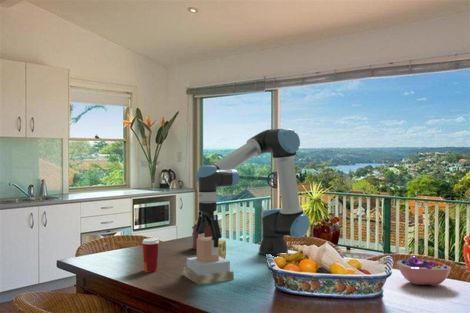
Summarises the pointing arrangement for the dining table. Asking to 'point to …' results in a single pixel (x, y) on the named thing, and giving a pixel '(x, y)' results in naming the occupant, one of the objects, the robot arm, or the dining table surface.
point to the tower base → (208, 276)
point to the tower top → (208, 266)
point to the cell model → (423, 271)
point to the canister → (195, 234)
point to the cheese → (222, 248)
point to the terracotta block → (206, 250)
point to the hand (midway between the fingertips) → (208, 251)
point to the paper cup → (150, 254)
